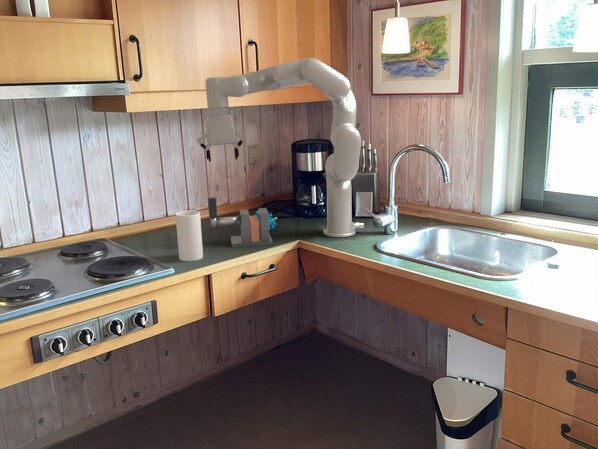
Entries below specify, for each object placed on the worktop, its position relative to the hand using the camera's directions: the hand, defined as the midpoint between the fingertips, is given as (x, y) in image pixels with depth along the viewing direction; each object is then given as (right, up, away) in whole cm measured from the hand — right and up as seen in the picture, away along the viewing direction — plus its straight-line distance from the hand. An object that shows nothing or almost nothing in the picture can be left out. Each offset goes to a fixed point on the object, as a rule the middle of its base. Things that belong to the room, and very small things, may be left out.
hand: (223, 160), depth 203 cm
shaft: (+1, -24, +2) cm, 24 cm away
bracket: (+10, -30, +6) cm, 32 cm away
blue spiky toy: (+14, -26, +25) cm, 38 cm away
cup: (-10, -35, -10) cm, 38 cm away
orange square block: (+11, -25, +4) cm, 28 cm away
